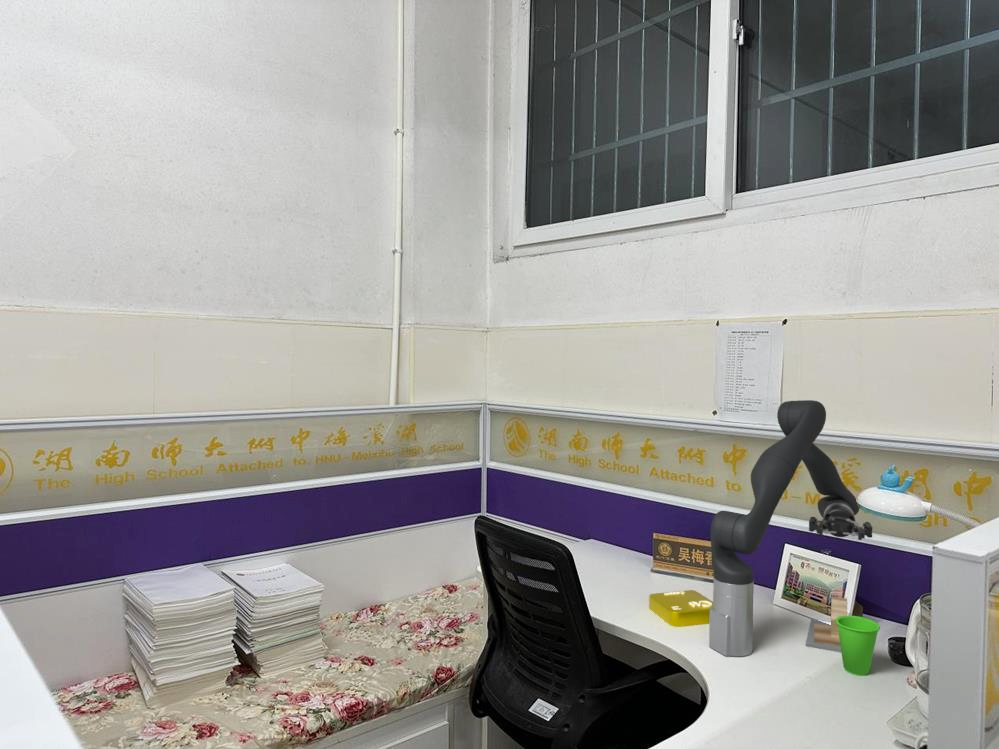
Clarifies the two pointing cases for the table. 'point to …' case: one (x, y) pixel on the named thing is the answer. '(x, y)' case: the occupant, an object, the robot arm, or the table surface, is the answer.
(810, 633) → the mat
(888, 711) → the table surface
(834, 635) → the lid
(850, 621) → the cup
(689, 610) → the element tile
